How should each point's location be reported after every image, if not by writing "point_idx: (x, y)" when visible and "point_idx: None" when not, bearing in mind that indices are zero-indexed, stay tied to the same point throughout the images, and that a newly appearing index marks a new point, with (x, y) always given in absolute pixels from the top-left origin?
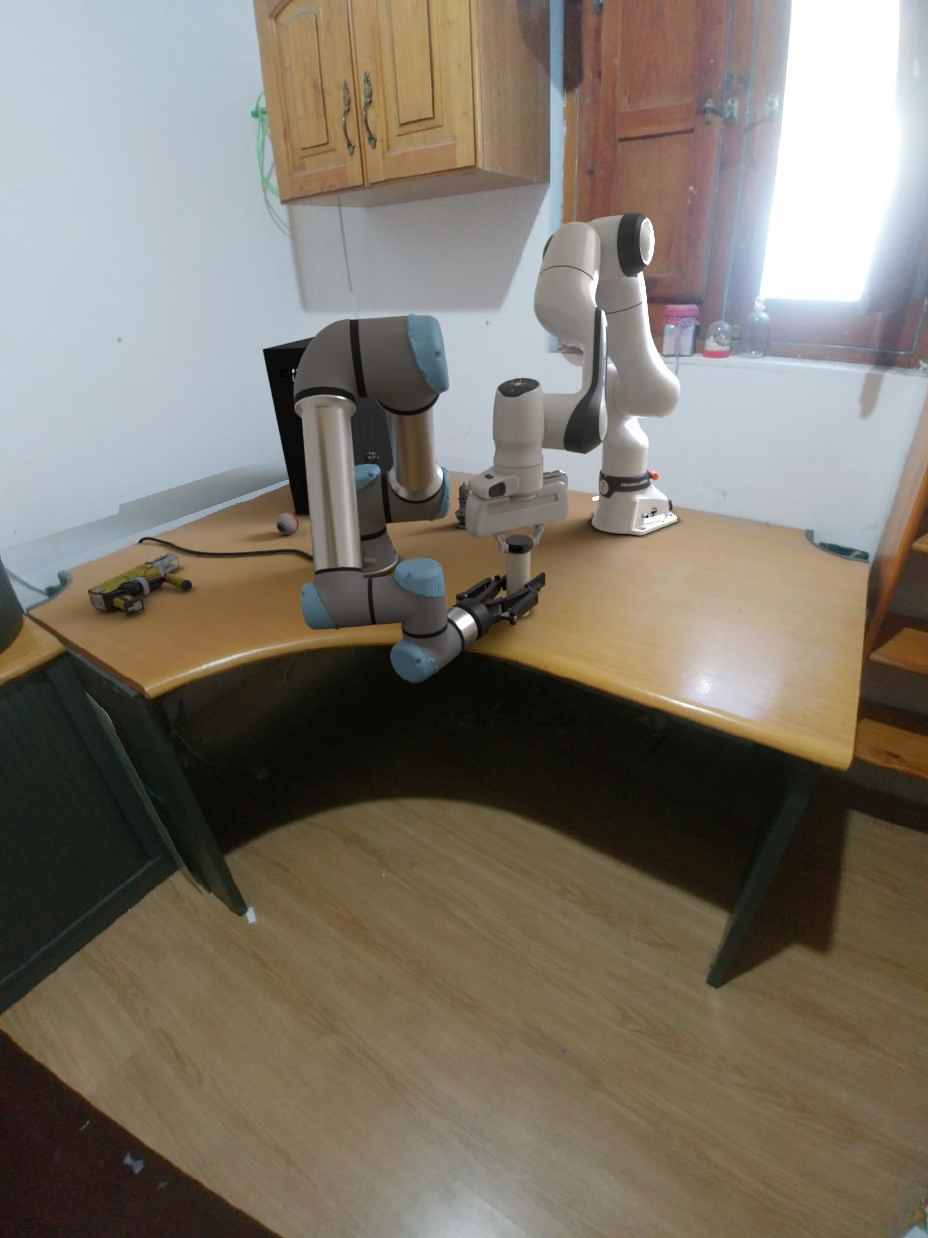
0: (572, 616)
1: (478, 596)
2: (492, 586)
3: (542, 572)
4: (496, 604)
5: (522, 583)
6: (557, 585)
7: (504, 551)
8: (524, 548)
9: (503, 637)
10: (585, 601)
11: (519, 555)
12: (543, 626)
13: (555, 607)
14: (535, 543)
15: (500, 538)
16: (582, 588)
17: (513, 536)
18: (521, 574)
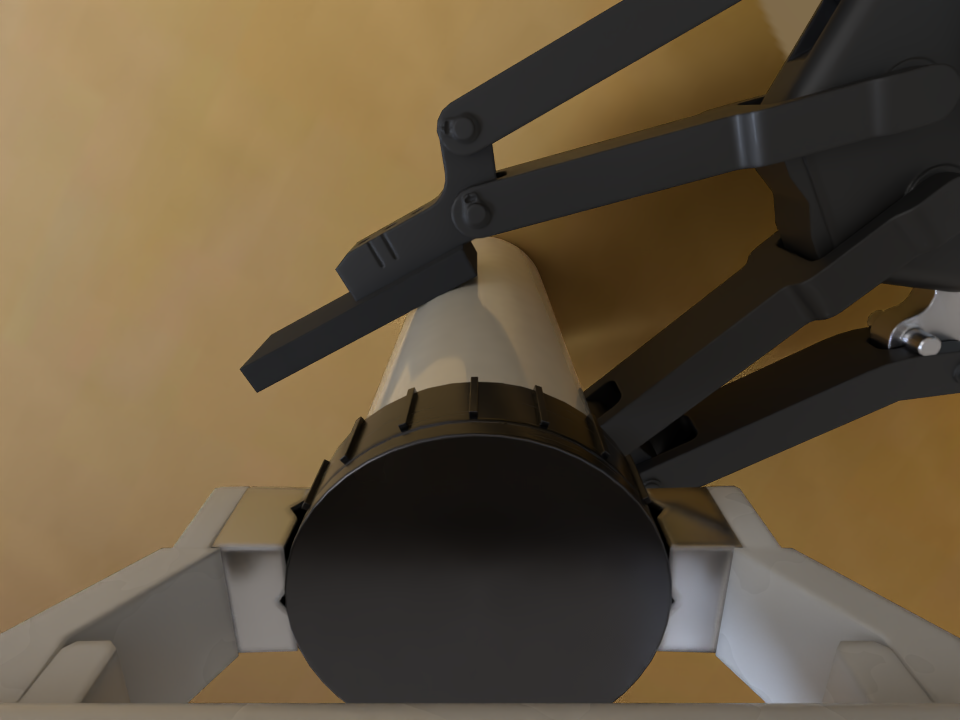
0: (217, 97)
1: (909, 255)
2: (694, 374)
3: (258, 386)
4: (856, 81)
5: (491, 289)
6: (150, 446)
7: (712, 494)
8: (489, 405)
9: (695, 85)
10: (70, 218)
11: None
12: (430, 79)
13: (265, 242)
14: (258, 499)
15: (884, 633)
16: (29, 356)
17: None
18: (504, 312)
